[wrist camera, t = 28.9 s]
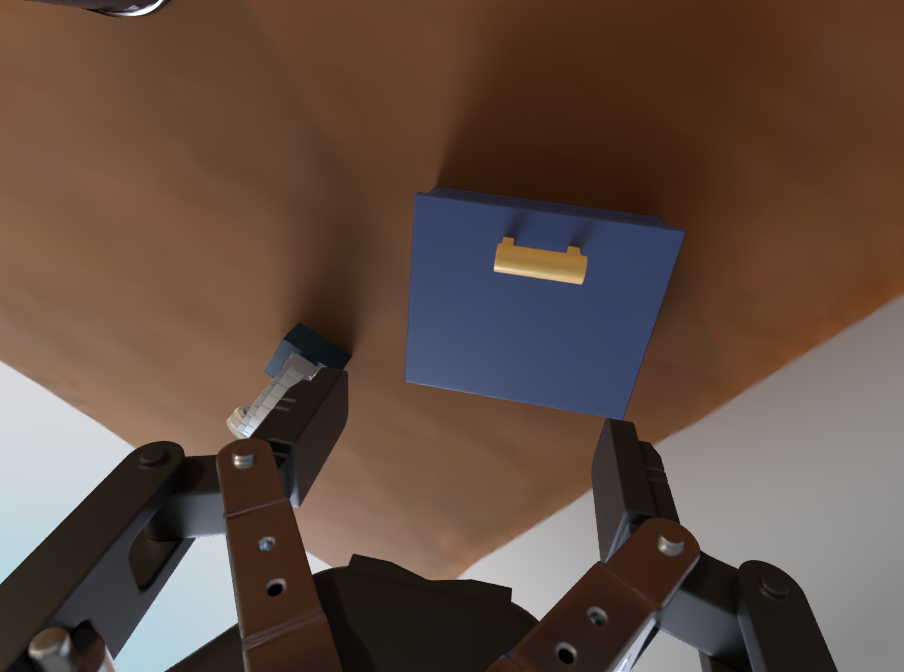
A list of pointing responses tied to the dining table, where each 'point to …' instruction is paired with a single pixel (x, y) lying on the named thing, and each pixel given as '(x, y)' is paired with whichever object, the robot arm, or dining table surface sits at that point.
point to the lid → (534, 302)
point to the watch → (288, 374)
